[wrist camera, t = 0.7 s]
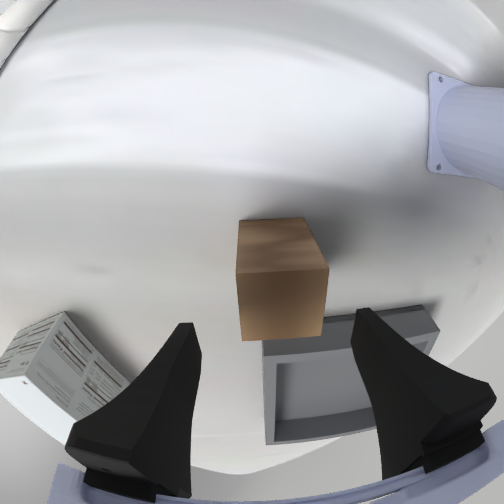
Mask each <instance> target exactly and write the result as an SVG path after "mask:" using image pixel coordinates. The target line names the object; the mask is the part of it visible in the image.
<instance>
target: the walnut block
mask: <svg viewBox="0 0 504 504" xmlns="http://www.w3.org/2000/svg"><path fill="white" fill-rule="evenodd" d="M328 277H329V267H328V265H327V263H326V261H325V259H324V257H323V255H322V253H321V251H320V249H319V247H318V245H317V243H316V241H315V239H314V237H313V235H312V233H311V231H310V229H309V227H308V225H307V224H306V222H305V220H304V218H284V219H261V220H241V221H239V230H238V245H237V260H236V283H237V294H238V304H239V315H240V325H241V335H242V341H255V340H274V339H288V338H301V337H312V336H321V331H322V324H323V317H324V310H325V302H326V294H327V285H328Z"/></svg>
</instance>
